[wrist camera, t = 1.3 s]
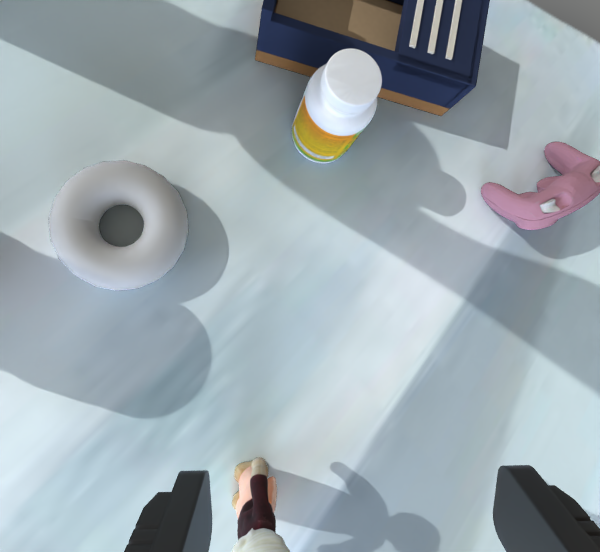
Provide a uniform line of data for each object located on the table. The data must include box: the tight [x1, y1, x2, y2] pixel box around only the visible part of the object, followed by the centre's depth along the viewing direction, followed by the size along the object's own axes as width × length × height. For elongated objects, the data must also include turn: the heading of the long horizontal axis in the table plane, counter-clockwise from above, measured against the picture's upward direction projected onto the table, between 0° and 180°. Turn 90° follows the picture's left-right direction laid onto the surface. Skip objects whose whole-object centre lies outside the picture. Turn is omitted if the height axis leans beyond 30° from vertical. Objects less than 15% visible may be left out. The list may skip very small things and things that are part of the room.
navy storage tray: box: [255, 0, 490, 116], centre depth 34 cm, size 18×9×8 cm, turn 79°
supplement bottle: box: [292, 49, 382, 163], centre depth 32 cm, size 5×5×10 cm
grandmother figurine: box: [232, 457, 290, 552], centre depth 28 cm, size 8×4×13 cm, turn 5°
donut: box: [49, 161, 189, 291], centre depth 32 cm, size 10×4×10 cm
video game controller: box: [481, 142, 600, 230], centre depth 38 cm, size 10×5×7 cm, turn 122°
